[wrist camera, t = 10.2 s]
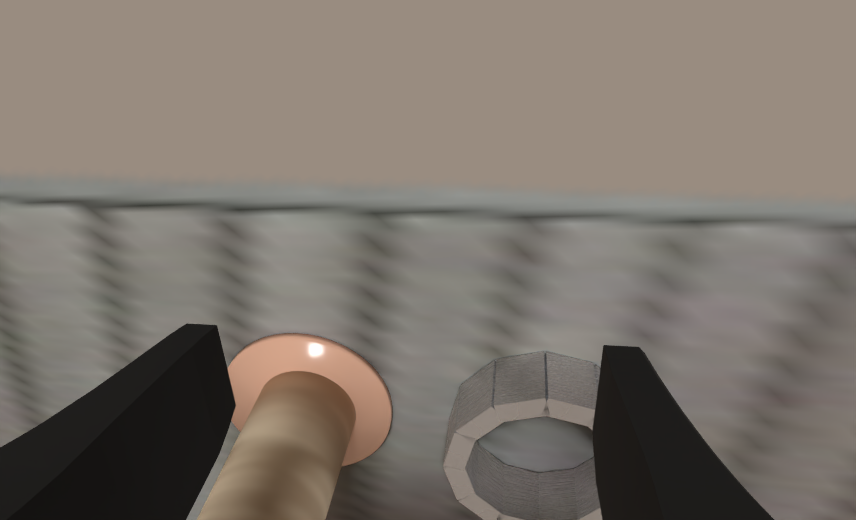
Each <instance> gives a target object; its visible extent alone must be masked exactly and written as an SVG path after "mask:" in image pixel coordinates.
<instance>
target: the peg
mask: <svg viewBox="0 0 856 520" xmlns="http://www.w3.org/2000/svg"><path fill="white" fill-rule="evenodd" d="M355 420H356V412H355V407H354V404H353V402H352V400H351V398H350V397H349V395H348V394H347V393H346V392H345V390H344V389H342V388H341V387H340V386H339V385H338V384H336V383H335V382H334V381H332V380H330V379H328V378H326V377H324V376H322V375H319V374H316V373H312V372H306V371H290V372H285V373H281V374H279V375H276V376H274V377H273V378H271V379H270V380H269V381H268V382H267V383H266V384H265V385H264V387H263V388H262V390H261V392H260V394H259V396H258V398H257V400H256V402H255V404H254V406H253V408H252V410H251V412H250V414H249V416H248V418H247V420H246V422H245V424H244V426H243V428H242V430H241V432H240V434H239V436H238V438H237V440H236V442H235V444H234V446H233V448H232V450H231V452H230V454H229V456H228V458H227V460H226V462H225V464H224V466H223V468H222V470H221V472H220V474H219V476H218V478H217V480H216V482H215V484H214V486H213V488H212V490H211V492H210V494H209V496H208V498H207V500H206V502H205V504H204V506H203V508H202V510H201V512H200V514H199V516H198V518H197V520H325V519H326V516H327V513H328V510H329V506H330V503H331V500H332V496H333V493H334V490H335V487H336V483H337V480H338V477H339V473H340V470H341V467H342V464H343V460H344V457H345V454H346V450H347V447H348V444H349V441H350V437H351V434H352V431H353V427H354V424H355Z"/></svg>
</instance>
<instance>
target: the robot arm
mask: <svg viewBox="0 0 856 520" xmlns="http://www.w3.org/2000/svg"><path fill="white" fill-rule="evenodd" d="M235 407H236V403H235V398H234V394H233V390H232V386H231V382H230V378H229V374H228V369H227V365H226V361H225V357H224V353H223V349H222V345H221V340H220V336H219V332H218V328H217V325H202V324H185V325H184V326H182V327H181V328H179V329H178V330H176V331H175V332H173V333H172V334H170V335H169V336H167V337H166V338H165V339H163V340H162V341H160V342H159V343H158V344H156V345H155V346H153V347H152V348H151V349H149V350H148V351H146V352H145V353H144V354H142V355H141V356H140V357H138V358H137V359H135V360H134V361H133V362H131V363H130V364H128V365H127V366H126V367H124V368H123V369H121V370H120V371H119V372H117V373H116V374H114V375H113V376H112V377H110V378H109V379H107V380H106V381H105V382H103V383H102V384H100V385H99V386H98V387H96V388H95V389H93V390H92V391H90V392H89V393H87V394H86V395H84V396H83V397H81V398H80V399H78V400H77V401H75V402H73V403H72V404H70V405H69V406H67V407H66V408H64V409H63V410H61V411H60V412H58V413H57V414H55V415H54V416H52V417H51V418H49V419H48V420H46V421H45V422H43V423H41V424H40V425H38V426H37V427H35V428H33V429H32V430H30V431H28V432H27V433H25V434H23V435H21V436H20V437H18V438H16V439H15V440H13V441H11V442H9V443H8V444H6V445H4V446H2V447H0V520H186V518H187V516H188V515H189V513H190V511H191V509H192V507H193V505H194V503H195V501H196V499H197V497H198V495H199V493H200V491H201V489H202V487H203V485H204V483H205V481H206V479H207V477H208V475H209V473H210V471H211V469H212V467H213V465H214V463H215V461H216V459H217V457H218V455H219V453H220V450H221V448H222V445H223V442H224V440H225V437H226V434H227V431H228V428H229V425H230V422H231V419H232V416H233V413H234V410H235ZM593 446H594V463H595V477H596V486H597V492H598V497H599V503H600V509H601V514H602V520H774V519H773V518H772V517H771V516H770V515H769V514H768V513H767V512H766V511H765V510H764V509H763V508H762V507H761V506H760V505H759V503H758V502H757V501H756V500H755V499H754V498H753V497H752V496H751V495H750V494H749V493H748V492H747V490H746V489H745V488H744V487H743V486H742V485H741V484H740V483H739V481H738V480H737V479H736V478H735V477H734V476H733V475H732V473H731V472H730V471H729V470H728V469H727V467H726V466H725V465H724V464H723V463H722V462H721V460H720V459H719V458H718V457H717V456H716V454H715V453H714V452H713V451H712V449H711V448H710V447H709V446H708V444H707V443H706V442H705V440H704V439H703V438H702V436H701V435H700V434H699V432H698V431H697V430H696V428H695V427H694V426H693V424H692V423H691V422H690V420H689V419H688V418H687V417H686V415H685V414H684V412H683V411H682V410H681V408H680V407H679V405H678V404H677V403H676V401H675V400H674V398H673V397H672V395H671V394H670V392H669V391H668V389H667V388H666V386H665V385H664V383H663V382H662V380H661V379H660V377H659V376H658V374H657V373H656V371H655V369H654V368H653V366H652V365H651V363H650V361H649V360H648V358H647V356H646V355H645V353H644V352H643V351H642V350H641V349H640V348H639V347H628V346H609V345H604V346H603V354H602V361H601V369H600V376H599V384H598V391H597V399H596V407H595V414H594V422H593Z"/></svg>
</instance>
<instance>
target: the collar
mask: <svg viewBox="0 0 856 520" xmlns="http://www.w3.org/2000/svg"><path fill="white" fill-rule="evenodd" d="M600 369H601V368H600V367H598V366H597V365H594V363H591V362H587V361H583V360H579V359H575V358H571V357H567V356H563V355H559V354H555V353H551V352H547V351H546V354H544V351H543V352H537V353H531V354H525V355H519V356H513V357H506V358H500V359H496V361H495V360H494V361H492V362H491V363H490V364H488V365H487V366H485V367H484V368H483V369H481V370H480V371H479V372H477V373H476V374H474V375H473V376H472V377H470V378H469V379H468V380H466V381H465V382H464V383H462V384H461V386H460V387H459V391H458V394H457V397H456V400H455V403H454V406H453V409H452V412H451V415H450V419H449V426H448V434H447V441H446V449H445V456H444V463H443V468H444V471H445V473H446V475H447V478H448V480H449V482H450V485H451V487H452V489H453V492H454V494H455V496H456V499H457V500H458V501H459V502H460V503H461V504H463V505H464V506H465V507H467V508H468V509H470V510H471V511H472V512H474V513H475V514H477V515H478V516H479V517H481V518H482V519H483V520H602V514H601V509H600V503H599V497H598V492H597V486H596V477H595V463H594V457H593V458H592V459H590V460H588V461H587V462H585V463H583V464H581V465H580V466H578V467H576V468H575V469H568V470H560V471H552V472H543V473H537V472H533V471H529V470H525V469H520V468H516V467H512V466H508V465H505V464H503V463H502V462H501V461H499V460H498V459H497V458H495V457H494V456H493V455H491V454H490V453H489V452H488V451H486V450H485V449H484V448H482V447H481V446H480V445H479V443H478V439H479V438H481V437H482V436H484V435H485V434H487V433H488V432H490V431H491V430H493V429H494V428H496V427H497V426H499V425H500V424H502V423H503V422H506V421H513V420H521V419H528V418H535V417H542V416H548V417H552V418H556V419H560V420H564V421H568V422H572V423H576V424H580V425H584V426H588V427H589V428H590V429H591V430H592V431H593V422H594V414H595V407H596V399H597V391H598V384H599V376H600Z"/></svg>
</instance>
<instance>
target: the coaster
mask: <svg viewBox="0 0 856 520" xmlns="http://www.w3.org/2000/svg"><path fill="white" fill-rule="evenodd" d="M290 371H306V372H312V373H316V374H319V375H322V376H324V377H326V378H328V379H330V380H332V381H334V382H335V383H336V384H338V385H339V386H340V387H341V388H342V389H344V390H345V392H346V393H347V394H348V395H349V397H350V398H351V400H352V402H353V404H354V407H355V412H356V420H355V424H354V427H353V431H352V434H351V437H350V441H349V444H348V447H347V450H346V454H345V457H344V460H343V464H342V466H346V465H350V464H353V463H356V462H358V461H361V460H363V459H365V458H366V457H368V456H370V455H371V454H372V453H374V452H375V451H376V450H377V449H378V448H379V447H380V446H381V444H382V443H383V442H384V440H385V438H386V437H387V434H388V431H389V429H390V424H391V419H392V401H391V396H390V394H389V391H388V388H387V386H386V384H385V383H384V381H383V379H382V378H381V376H380V375H379V374H378V372H377V371H376V370H375V369H374V368H373V367H372V366H371V365H370V364H369V363H368V362H367V361H366V360H365V359H364V358H362V357H361V356H360V355H358V354H357V353H355V352H354V351H352V350H351V349H349V348H347V347H345V346H343V345H341V344H339V343H336V342H334V341H332V340H329V339H325V338H322V337H319V336H314V335H309V334H299V333H284V334H276V335H271V336H267V337H263V338H261V339H258V340H256V341H254V342H252V343H250V344H249V345H247V346H246V347H244V348H243V349H242V350H241V351H240V352H239V353H238V354H237V355H236V356H235V357H234V359H233V360H232V362H231V364H230V366H229V367H228V374H229V378H230V382H231V386H232V390H233V394H234V398H235V403H236V407H235V410H234V413H233V416H232V419H231V420H232V422H233V423H234V425H235V426H236V428H237V429H238V430H239V431H240V432H241V430H242V428H243V426H244V424H245V422H246V420H247V418H248V416H249V414H250V412H251V410H252V408H253V406H254V404H255V402H256V400H257V398H258V396H259V394H260V392H261V390H262V388H263V387H264V385H265V384H266V383H267V382H268V381H269V380H270V379H271V378H273V377H274V376H276V375H279V374H281V373H285V372H290Z"/></svg>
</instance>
